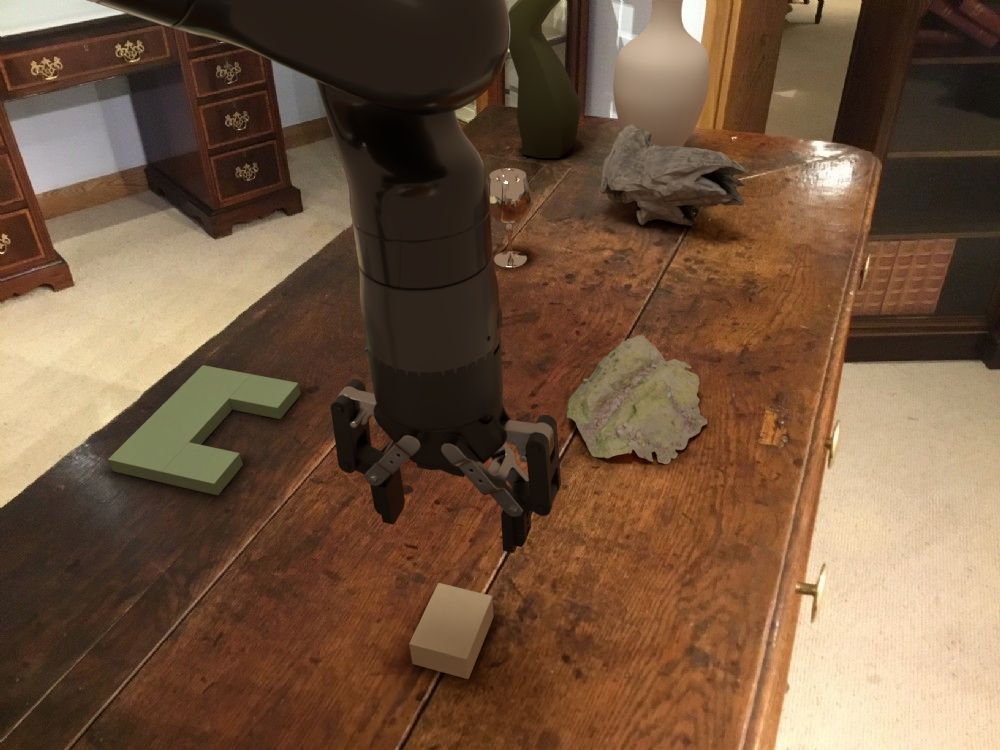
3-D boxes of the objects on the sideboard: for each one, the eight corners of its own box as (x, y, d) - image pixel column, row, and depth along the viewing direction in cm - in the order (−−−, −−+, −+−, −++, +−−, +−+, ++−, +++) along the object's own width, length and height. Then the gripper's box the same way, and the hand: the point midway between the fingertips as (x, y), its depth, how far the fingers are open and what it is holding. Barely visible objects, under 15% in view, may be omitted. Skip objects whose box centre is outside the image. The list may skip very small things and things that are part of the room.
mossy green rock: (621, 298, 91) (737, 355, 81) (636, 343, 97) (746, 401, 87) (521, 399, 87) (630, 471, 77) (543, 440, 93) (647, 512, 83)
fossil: (724, 278, 119) (788, 187, 111) (618, 244, 112) (679, 143, 104) (674, 206, 134) (727, 120, 126) (578, 171, 127) (628, 78, 119)
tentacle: (570, 164, 139) (573, -36, 121) (499, 156, 142) (492, -40, 124) (585, 144, 145) (590, -49, 127) (518, 136, 149) (513, -52, 131)
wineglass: (517, 274, 111) (514, 188, 104) (480, 263, 114) (476, 179, 106) (539, 255, 115) (539, 171, 108) (504, 245, 118) (501, 163, 110)
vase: (597, 152, 142) (604, -30, 125) (678, 141, 145) (695, -38, 128) (628, 187, 131) (640, -8, 114) (714, 175, 133) (739, -17, 117)
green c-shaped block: (218, 495, 80) (214, 483, 79) (112, 471, 83) (107, 459, 82) (301, 394, 92) (298, 382, 91) (206, 376, 95) (202, 365, 94)
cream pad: (468, 679, 64) (466, 659, 62) (411, 664, 65) (408, 643, 63) (494, 616, 68) (492, 595, 67) (440, 602, 69) (438, 582, 68)
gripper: (286, 345, 46) (331, 546, 56) (536, 389, 43) (539, 597, 52) (348, 277, 52) (380, 470, 62) (574, 310, 48) (570, 512, 58)
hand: (452, 528), depth 57 cm, fingers open, 8 cm apart
